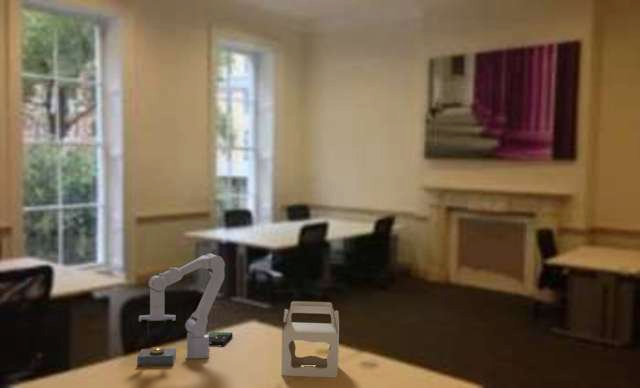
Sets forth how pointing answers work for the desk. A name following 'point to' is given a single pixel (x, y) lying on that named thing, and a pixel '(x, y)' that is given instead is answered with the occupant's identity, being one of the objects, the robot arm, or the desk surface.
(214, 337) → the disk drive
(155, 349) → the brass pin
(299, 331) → the gable box
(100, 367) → the desk surface
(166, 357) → the block
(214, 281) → the robot arm
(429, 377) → the desk surface
